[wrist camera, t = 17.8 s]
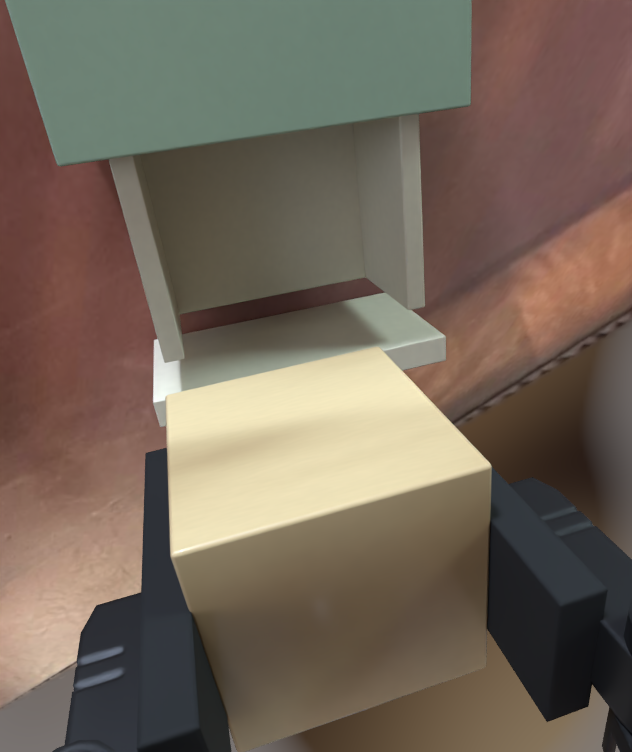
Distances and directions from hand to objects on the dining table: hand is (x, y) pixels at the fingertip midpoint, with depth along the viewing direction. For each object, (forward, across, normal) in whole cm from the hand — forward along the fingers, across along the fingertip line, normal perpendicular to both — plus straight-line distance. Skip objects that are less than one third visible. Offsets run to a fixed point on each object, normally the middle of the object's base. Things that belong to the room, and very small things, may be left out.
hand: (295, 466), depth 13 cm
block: (0, 0, 0) cm, 0 cm away
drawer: (+16, -2, -1) cm, 16 cm away
